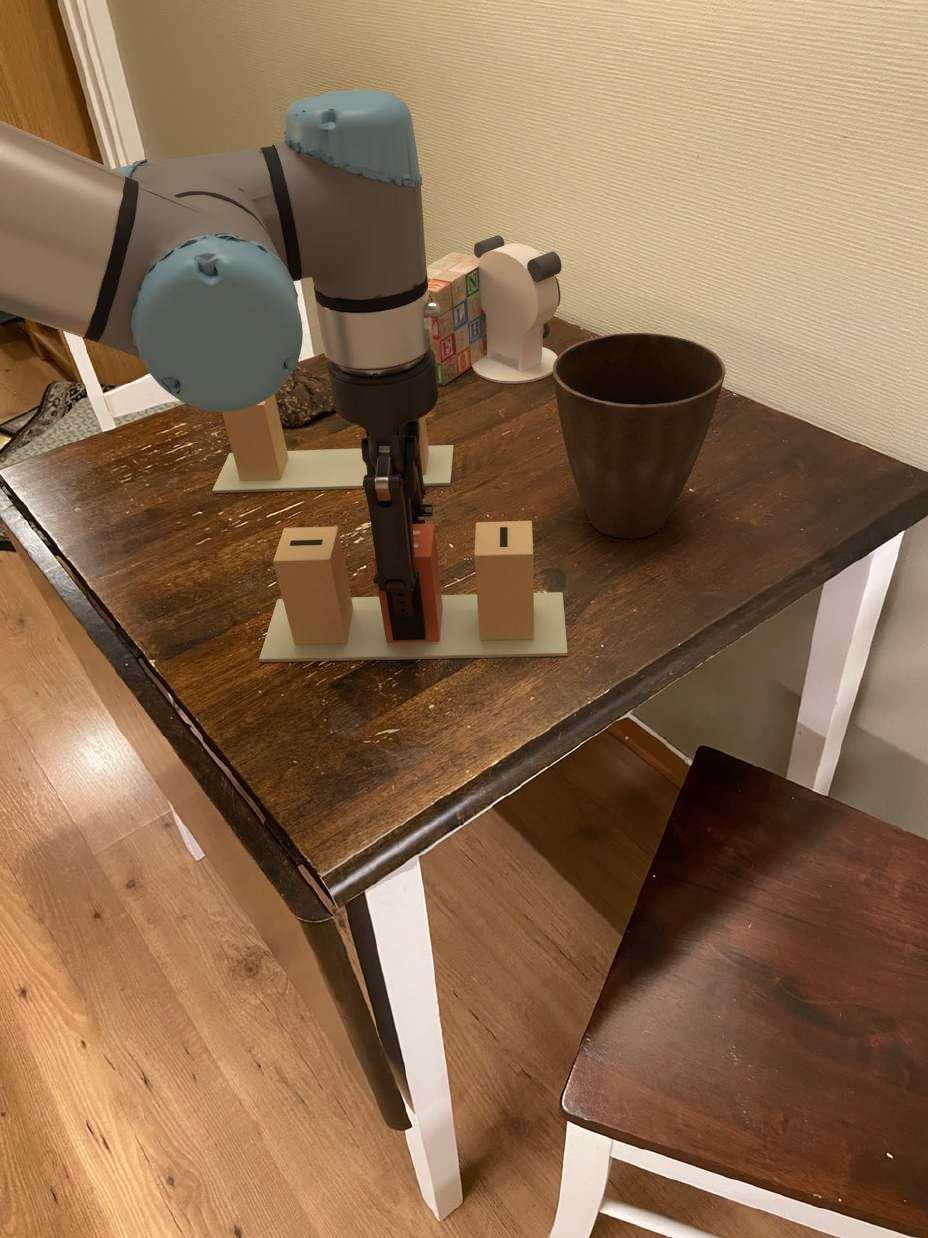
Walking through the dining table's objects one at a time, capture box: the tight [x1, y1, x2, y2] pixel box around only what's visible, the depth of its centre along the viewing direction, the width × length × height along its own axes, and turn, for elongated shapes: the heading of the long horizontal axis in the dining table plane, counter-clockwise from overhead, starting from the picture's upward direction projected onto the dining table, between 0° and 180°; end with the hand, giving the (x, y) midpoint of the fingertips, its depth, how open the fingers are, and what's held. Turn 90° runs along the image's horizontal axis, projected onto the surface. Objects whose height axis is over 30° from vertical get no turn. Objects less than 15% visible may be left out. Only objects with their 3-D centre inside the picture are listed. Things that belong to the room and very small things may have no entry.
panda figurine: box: [471, 234, 563, 385], centre depth 111 cm, size 12×11×15 cm
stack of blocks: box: [426, 251, 487, 387], centre depth 116 cm, size 21×6×12 cm, turn 145°
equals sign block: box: [372, 522, 443, 643], centre depth 74 cm, size 5×5×9 cm
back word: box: [211, 394, 455, 494], centre depth 95 cm, size 26×8×10 cm, turn 88°
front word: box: [258, 520, 569, 663], centre depth 74 cm, size 26×8×10 cm, turn 88°
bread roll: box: [275, 365, 336, 428], centre depth 109 cm, size 13×12×5 cm
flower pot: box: [552, 332, 727, 540], centre depth 83 cm, size 15×15×16 cm
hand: (413, 609), depth 76 cm, fingers open, 6 cm apart
